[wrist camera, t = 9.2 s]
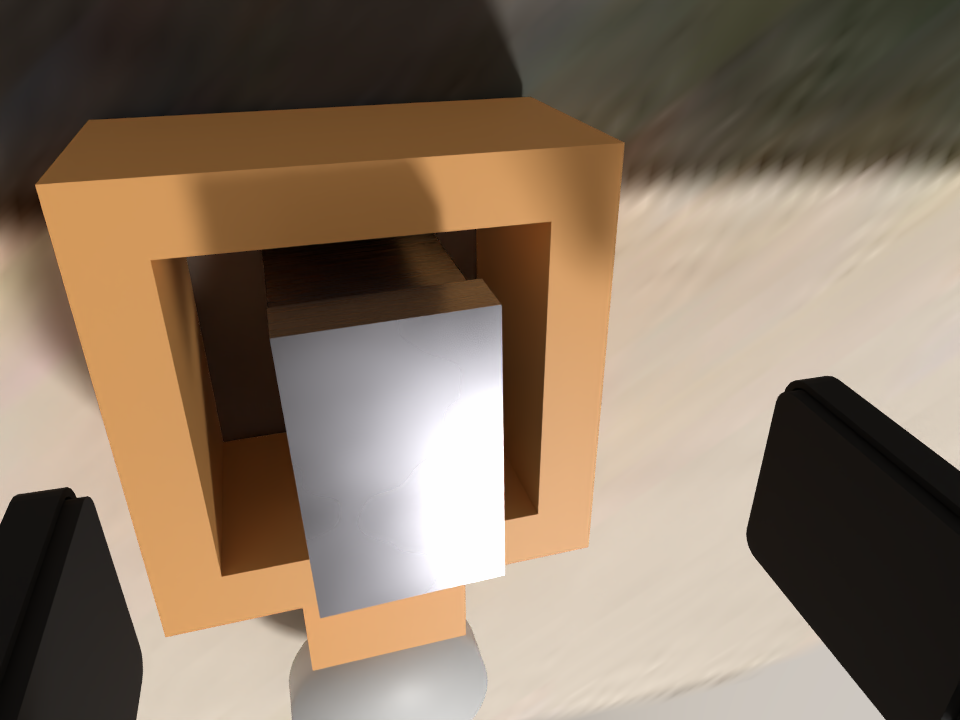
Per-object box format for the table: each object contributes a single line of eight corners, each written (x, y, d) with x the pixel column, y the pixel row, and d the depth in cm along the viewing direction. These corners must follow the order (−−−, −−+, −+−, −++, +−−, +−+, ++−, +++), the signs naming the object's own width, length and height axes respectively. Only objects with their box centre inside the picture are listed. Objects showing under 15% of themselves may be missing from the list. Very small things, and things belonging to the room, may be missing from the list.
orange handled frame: (88, 120, 14) (34, 184, 10) (530, 96, 16) (625, 143, 12) (232, 710, 22) (233, 871, 18) (513, 642, 24) (567, 773, 20)
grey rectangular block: (409, 183, 16) (501, 304, 11) (423, 391, 19) (504, 574, 13) (255, 199, 15) (269, 338, 10) (291, 413, 18) (319, 618, 12)
